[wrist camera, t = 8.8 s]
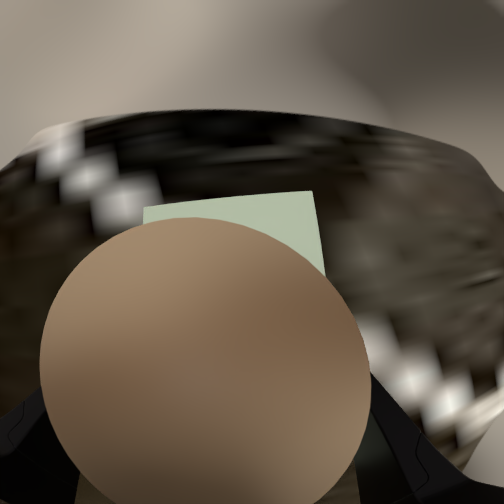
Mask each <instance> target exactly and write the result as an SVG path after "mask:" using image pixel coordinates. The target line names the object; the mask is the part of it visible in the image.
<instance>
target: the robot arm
mask: <svg viewBox="0 0 504 504" xmlns="http://www.w3.org/2000/svg"><path fill="white" fill-rule="evenodd" d="M370 377H371V401H370V410H369V415H368V420H367V425H366V429H365V432H364V435H363V438H362V440H361V443H360V446H359V448H358V450H357V452H356V454H355V456H354V462H355V468H356V474H357V481H358V488H359V495H360V503H361V504H504V487H499V486H494V485H490V484H485V483H481V482H477V481H474V480H472V479H470V478H469V477H467V476H466V475H464V474H463V473H462V472H461V471H460V470H459V469H458V468H457V467H455V466H454V465H453V464H452V463H451V462H450V461H449V460H448V459H447V458H446V457H444V456H443V455H442V454H441V453H440V452H439V451H438V450H437V449H436V448H435V447H434V445H433V444H432V443H431V442H430V441H429V440H428V439H427V438H426V436H425V435H424V434H423V433H422V432H421V431H420V430H419V428H418V427H417V426H416V425H415V424H414V422H413V421H412V420H411V419H410V418H409V417H408V415H407V414H406V413H405V412H404V411H403V410H402V408H401V407H400V406H399V405H398V404H397V403H396V401H395V400H394V399H393V398H392V397H391V396H390V394H389V393H388V392H387V391H386V390H385V389H384V387H383V386H382V385H381V384H380V383H379V382H378V380H377V379H376V378H375V377H374V376H373V375H372V373H371V372H370ZM420 432H421V433H420ZM79 475H80V471H79V469H78V468H77V467H76V465H75V464H74V463H73V461H72V460H71V459H70V457H69V456H68V455H67V453H66V451H65V450H64V448H63V446H62V444H61V443H60V441H59V439H58V437H57V435H56V433H55V431H54V428H53V426H52V424H51V421H50V419H49V416H48V412H47V409H46V406H45V402H44V398H43V392H42V387H41V386H40V387H39V388H38V389H37V390H36V391H34V392H33V393H32V394H31V395H30V396H28V397H27V398H26V399H25V401H22V402H21V403H20V404H19V405H18V406H16V407H15V408H14V409H13V410H11V411H10V412H9V413H7V414H6V415H5V416H3V417H2V418H0V504H74V503H75V497H76V491H77V485H78V480H79Z"/></svg>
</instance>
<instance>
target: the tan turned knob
mask: <svg viewBox="0 0 504 504" xmlns="http://www.w3.org/2000/svg"><path fill="white" fill-rule="evenodd" d="M40 378H41V387H42V392H43V398H44V402H45V406H46V409H47V412H48V416H49V419H50V421H51V424H52V426H53V428H54V431H55V433H56V435H57V437H58V439H59V441H60V443H61V444H62V446H63V448H64V450H65V451H66V453H67V455H68V456H69V457H70V459H71V460H72V461H73V463H74V464H75V465H76V467H77V468H78V469H79V471H80V472H81V473H82V474H83V475H84V476H85V477H86V478H87V479H88V480H89V481H90V482H91V483H92V484H93V486H95V487H96V488H97V489H98V490H99V491H100V492H102V493H103V494H104V495H105V496H106V497H108V498H109V499H110V500H112V501H113V502H115V503H116V504H313V503H315V502H316V501H318V500H319V499H320V498H321V497H322V496H323V495H324V494H325V493H326V492H328V491H329V490H330V489H331V488H332V487H333V486H334V485H335V484H336V482H337V481H338V480H339V478H340V477H341V476H342V475H343V473H344V472H345V471H346V469H347V468H348V466H349V465H350V463H351V461H352V459H353V458H354V456H355V454H356V452H357V450H358V448H359V446H360V443H361V440H362V438H363V435H364V432H365V429H366V425H367V420H368V415H369V410H370V401H371V377H370V368H369V361H368V357H367V353H366V349H365V345H364V341H363V338H362V336H361V333H360V331H359V328H358V326H357V324H356V321H355V319H354V317H353V315H352V313H351V312H350V310H349V308H348V307H347V305H346V303H345V302H344V300H343V298H342V297H341V295H340V294H339V293H338V292H337V290H336V289H335V288H334V287H333V285H332V284H331V283H330V282H329V281H328V279H327V278H326V277H325V276H324V275H323V274H322V273H321V272H320V271H319V270H318V269H317V268H316V267H315V266H313V265H312V264H311V263H310V262H309V261H308V260H307V259H306V258H304V257H303V256H301V255H300V254H299V253H297V252H296V251H294V250H293V249H292V248H290V247H289V246H288V245H286V244H284V243H282V242H280V241H278V240H276V239H275V238H273V237H271V236H269V235H267V234H265V233H262V232H260V231H257V230H255V229H252V228H249V227H247V226H244V225H240V224H236V223H232V222H228V221H224V220H218V219H209V218H199V217H190V218H171V219H165V220H159V221H154V222H150V223H147V224H143V225H140V226H137V227H134V228H131V229H129V230H127V231H125V232H123V233H121V234H118V235H116V236H114V237H113V238H111V239H109V240H108V241H106V242H105V243H103V244H102V245H100V246H99V247H97V248H96V249H95V250H94V251H92V252H91V253H90V254H89V255H88V256H87V257H86V258H84V259H83V260H82V261H81V262H80V263H79V265H78V266H77V267H76V268H75V269H74V270H73V271H72V273H71V274H70V275H69V276H68V278H67V279H66V281H65V282H64V284H63V285H62V287H61V288H60V290H59V292H58V294H57V296H56V298H55V300H54V302H53V304H52V306H51V308H50V311H49V314H48V317H47V320H46V323H45V326H44V331H43V336H42V342H41V350H40Z"/></svg>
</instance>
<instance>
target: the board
mask: <svg viewBox="0 0 504 504" xmlns="http://www.w3.org/2000/svg"><path fill="white" fill-rule="evenodd" d="M190 217H199V218H209V219H218V220H224V221H228V222H232V223H236V224H240V225H244V226H247V227H249V228H252V229H255V230H257V231H260V232H262V233H265V234H267V235H269V236H271V237H273V238H275V239H276V240H278V241H280V242H282V243H284V244H286V245H288V246H289V247H290V248H292V249H293V250H294V251H296V252H297V253H299V254H300V255H301V256H303V257H304V258H306V259H307V260H308V261H309V262H310V263H311V264H312V265H313V266H315V267H316V268H317V269H318V270H319V271H320V272H321V273H322V274H323V275H324V276H325V270H324V263H323V256H322V249H321V242H320V236H319V229H318V223H317V217H316V211H315V205H314V199H313V194H312V191H303V192H287V193H273V194H260V195H248V196H237V197H227V198H217V199H207V200H198V201H190V202H181V203H173V204H165V205H158V206H150V207H144V216H143V224H147V223H150V222H154V221H159V220H165V219H171V218H190Z"/></svg>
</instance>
